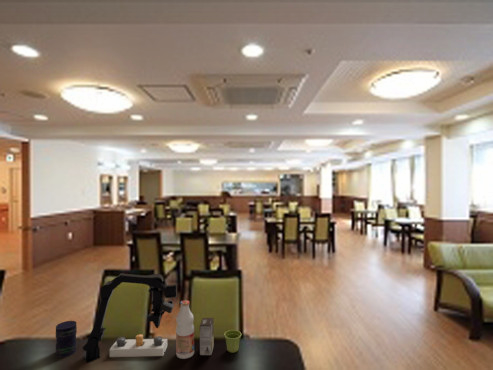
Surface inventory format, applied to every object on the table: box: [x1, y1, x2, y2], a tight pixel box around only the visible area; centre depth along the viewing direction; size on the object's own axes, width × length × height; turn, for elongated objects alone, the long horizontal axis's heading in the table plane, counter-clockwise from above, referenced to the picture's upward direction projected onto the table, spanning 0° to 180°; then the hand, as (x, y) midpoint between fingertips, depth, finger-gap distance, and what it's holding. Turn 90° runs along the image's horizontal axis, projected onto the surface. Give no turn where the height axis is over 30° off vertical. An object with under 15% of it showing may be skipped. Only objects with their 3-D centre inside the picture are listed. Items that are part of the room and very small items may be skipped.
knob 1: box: [115, 336, 126, 347], centre depth 163 cm, size 4×4×3 cm
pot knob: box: [135, 334, 144, 346], centre depth 163 cm, size 4×4×5 cm
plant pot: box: [224, 329, 242, 353], centre depth 164 cm, size 9×9×9 cm
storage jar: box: [55, 320, 78, 358], centre depth 163 cm, size 10×10×15 cm
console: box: [109, 338, 168, 358], centre depth 163 cm, size 28×10×4 cm, turn 92°
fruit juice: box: [175, 299, 195, 360], centre depth 160 cm, size 9×9×28 cm
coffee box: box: [199, 317, 215, 356], centre depth 163 cm, size 9×6×16 cm
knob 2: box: [153, 336, 163, 346], centre depth 163 cm, size 4×4×3 cm
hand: (157, 327), depth 163 cm, fingers closed
